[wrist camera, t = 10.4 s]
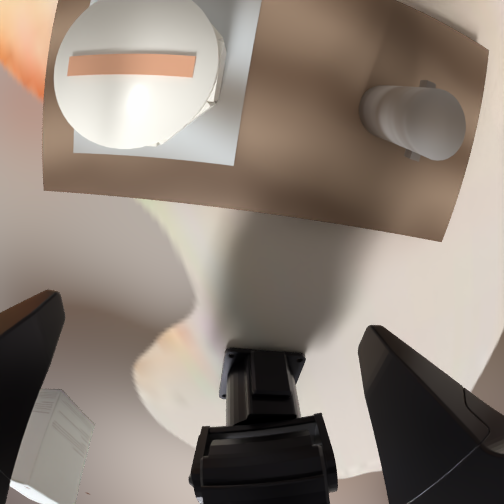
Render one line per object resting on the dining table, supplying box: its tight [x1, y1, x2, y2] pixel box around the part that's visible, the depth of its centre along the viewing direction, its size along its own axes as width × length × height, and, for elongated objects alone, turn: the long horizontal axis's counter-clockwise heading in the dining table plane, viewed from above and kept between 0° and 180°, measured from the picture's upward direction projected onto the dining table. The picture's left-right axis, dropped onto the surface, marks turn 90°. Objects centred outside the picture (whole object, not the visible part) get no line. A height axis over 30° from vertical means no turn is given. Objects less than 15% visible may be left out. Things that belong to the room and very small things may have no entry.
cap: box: [54, 0, 227, 149], centre depth 11 cm, size 7×7×5 cm
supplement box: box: [10, 389, 95, 504], centre depth 24 cm, size 7×7×13 cm
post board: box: [42, 0, 489, 242], centre depth 13 cm, size 14×26×7 cm, turn 81°
